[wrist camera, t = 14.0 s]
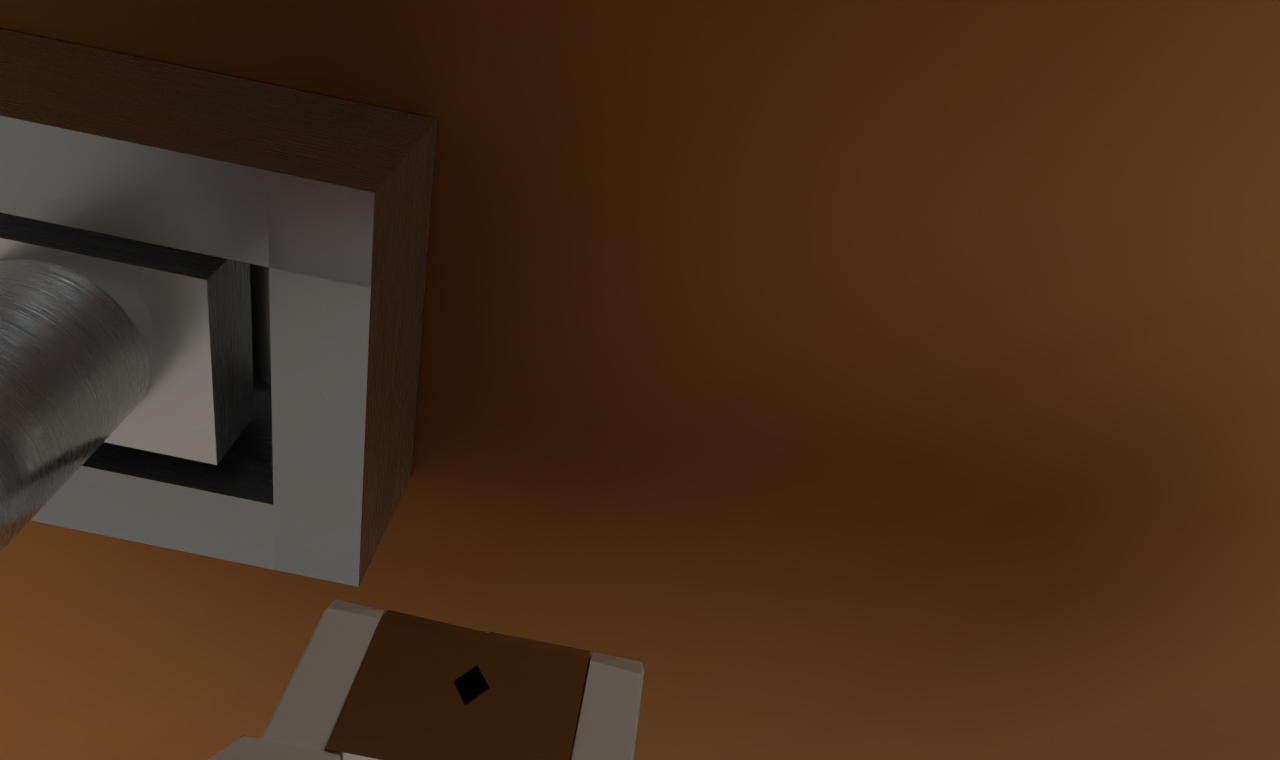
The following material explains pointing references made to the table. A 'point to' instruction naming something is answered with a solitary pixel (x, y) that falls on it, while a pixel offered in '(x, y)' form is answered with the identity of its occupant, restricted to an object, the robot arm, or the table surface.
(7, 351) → the lever
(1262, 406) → the table surface
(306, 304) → the lever rail
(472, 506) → the table surface
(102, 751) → the table surface
